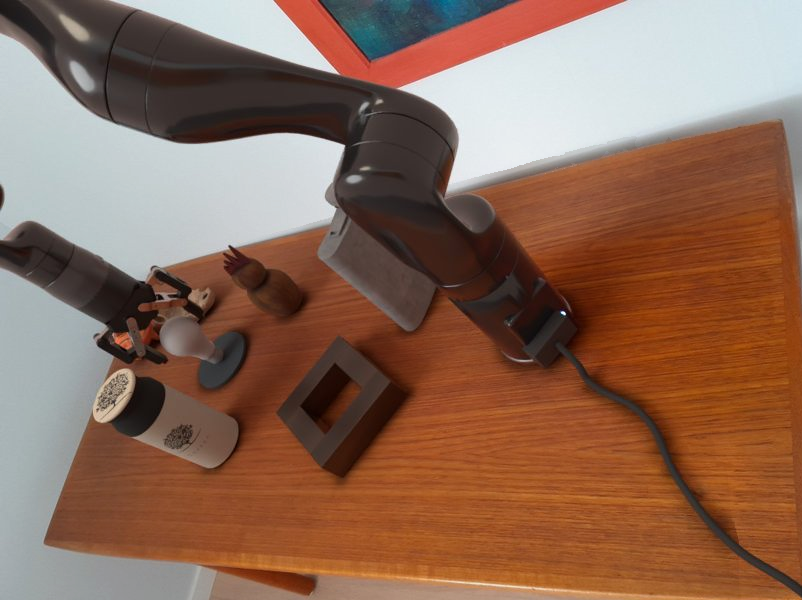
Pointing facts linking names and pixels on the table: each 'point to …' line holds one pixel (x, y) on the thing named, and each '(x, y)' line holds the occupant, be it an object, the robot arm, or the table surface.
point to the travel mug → (165, 418)
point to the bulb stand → (358, 420)
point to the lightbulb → (188, 340)
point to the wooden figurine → (263, 284)
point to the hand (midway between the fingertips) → (184, 338)
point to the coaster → (224, 361)
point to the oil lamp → (196, 296)
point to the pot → (145, 335)
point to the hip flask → (375, 270)
